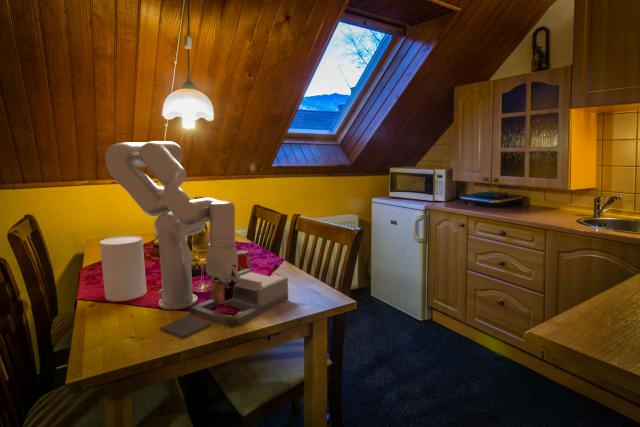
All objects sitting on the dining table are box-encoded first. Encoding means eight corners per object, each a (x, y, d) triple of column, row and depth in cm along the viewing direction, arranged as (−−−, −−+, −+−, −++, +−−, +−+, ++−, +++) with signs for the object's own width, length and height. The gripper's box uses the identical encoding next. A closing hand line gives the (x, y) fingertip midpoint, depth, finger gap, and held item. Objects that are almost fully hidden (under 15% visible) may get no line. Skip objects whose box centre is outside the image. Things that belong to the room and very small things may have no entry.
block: (211, 299, 131) (211, 281, 129) (223, 295, 135) (223, 277, 134) (222, 303, 128) (222, 285, 127) (234, 299, 132) (234, 281, 131)
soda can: (247, 285, 158) (246, 254, 156) (229, 283, 159) (228, 253, 157) (253, 279, 164) (252, 249, 162) (236, 278, 166) (235, 249, 164)
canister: (120, 303, 140) (114, 246, 136) (97, 296, 147) (91, 241, 143) (154, 291, 151) (150, 238, 148) (131, 285, 158) (127, 234, 155)
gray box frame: (190, 313, 131) (188, 289, 130) (247, 289, 153) (247, 268, 151) (232, 327, 121) (231, 301, 120) (288, 300, 142) (287, 277, 141)
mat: (160, 329, 120) (160, 327, 120) (188, 317, 128) (188, 315, 128) (182, 338, 114) (182, 336, 114) (210, 325, 122) (210, 323, 122)
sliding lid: (225, 283, 140) (225, 274, 140) (250, 274, 150) (249, 265, 150) (259, 292, 132) (258, 282, 131) (283, 281, 142) (282, 272, 141)
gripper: (194, 238, 129) (195, 293, 133) (233, 248, 120) (233, 307, 123) (212, 234, 135) (213, 287, 139) (251, 243, 126) (250, 299, 129)
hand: (222, 296), depth 131 cm, fingers closed on block, 5 cm apart
